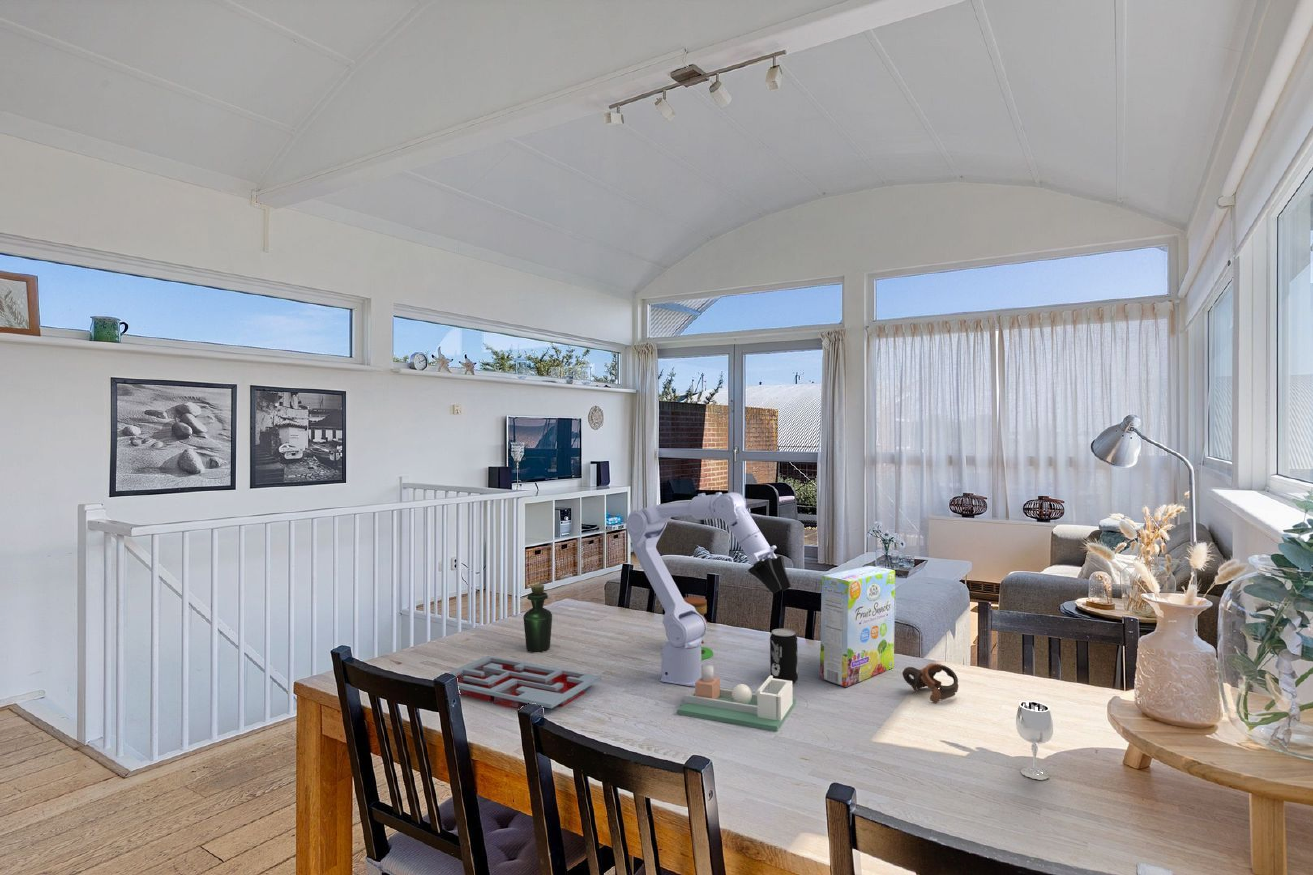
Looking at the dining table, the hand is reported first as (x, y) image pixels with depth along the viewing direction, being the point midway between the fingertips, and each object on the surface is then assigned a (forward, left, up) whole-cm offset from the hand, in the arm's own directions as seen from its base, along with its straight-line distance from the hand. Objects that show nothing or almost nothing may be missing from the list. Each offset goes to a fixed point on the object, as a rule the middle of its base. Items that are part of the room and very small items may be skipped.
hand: (782, 590), depth 154 cm
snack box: (+12, +27, -26) cm, 39 cm away
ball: (-8, -6, -22) cm, 24 cm away
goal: (0, -6, -26) cm, 26 cm away
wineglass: (+48, -13, -26) cm, 56 cm away
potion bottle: (-74, +12, -26) cm, 79 cm away
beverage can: (-4, +15, -26) cm, 30 cm away
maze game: (-61, -16, -26) cm, 68 cm away
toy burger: (-32, +26, -26) cm, 48 cm away
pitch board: (-9, -6, -26) cm, 28 cm away
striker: (-16, -6, -24) cm, 30 cm away
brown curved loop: (+29, +19, -26) cm, 44 cm away
